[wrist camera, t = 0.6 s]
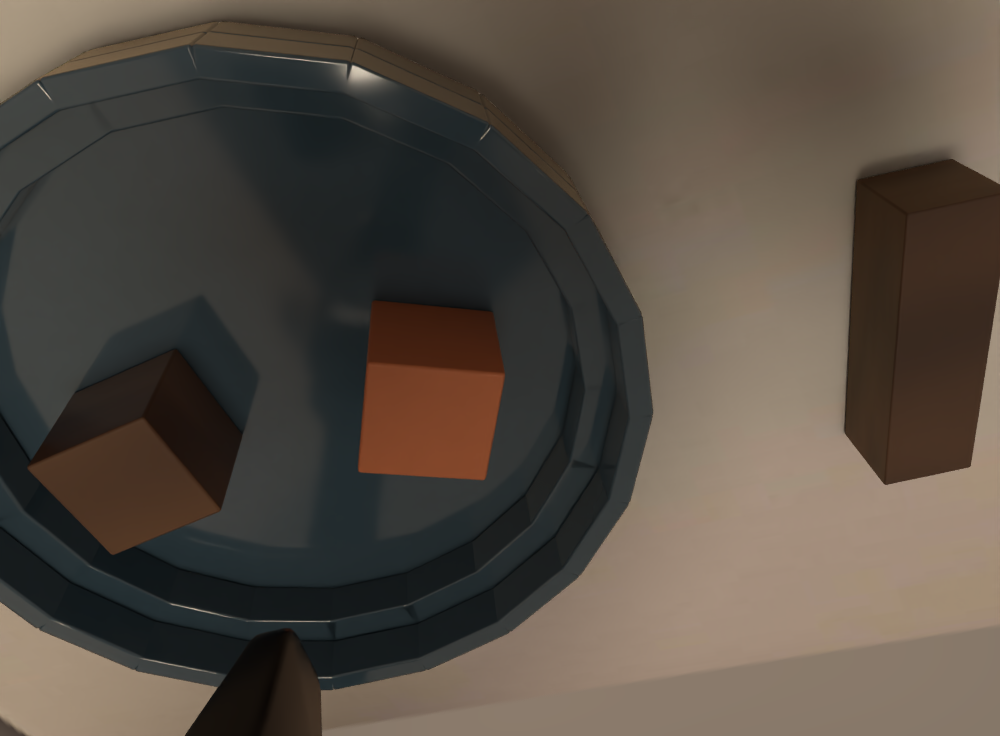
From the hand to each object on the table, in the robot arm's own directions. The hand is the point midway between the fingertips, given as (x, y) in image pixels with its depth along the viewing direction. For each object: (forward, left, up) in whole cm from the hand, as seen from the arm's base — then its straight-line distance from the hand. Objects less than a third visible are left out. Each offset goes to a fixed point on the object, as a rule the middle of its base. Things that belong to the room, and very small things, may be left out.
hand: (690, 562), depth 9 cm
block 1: (-3, +11, -12) cm, 16 cm away
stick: (-5, -9, -12) cm, 16 cm away
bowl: (-3, +7, -12) cm, 14 cm away
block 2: (-3, +4, -12) cm, 13 cm away
